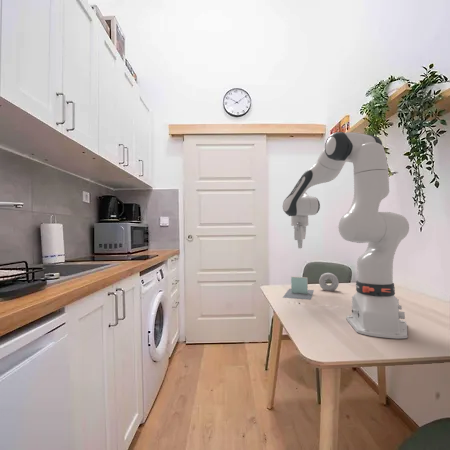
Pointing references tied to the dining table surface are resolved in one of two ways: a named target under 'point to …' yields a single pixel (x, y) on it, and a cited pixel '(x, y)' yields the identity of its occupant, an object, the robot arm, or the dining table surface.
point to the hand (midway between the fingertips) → (300, 248)
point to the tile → (299, 285)
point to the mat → (299, 295)
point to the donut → (332, 277)
